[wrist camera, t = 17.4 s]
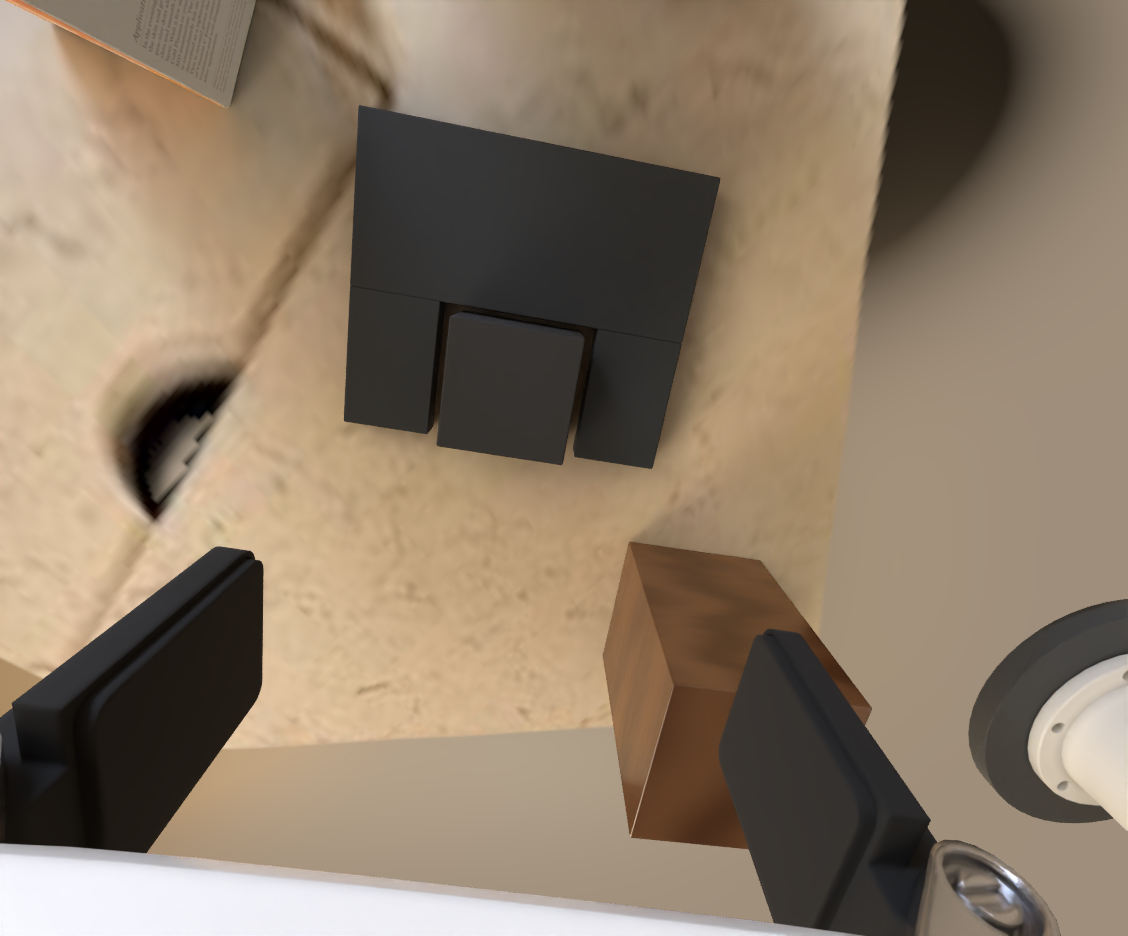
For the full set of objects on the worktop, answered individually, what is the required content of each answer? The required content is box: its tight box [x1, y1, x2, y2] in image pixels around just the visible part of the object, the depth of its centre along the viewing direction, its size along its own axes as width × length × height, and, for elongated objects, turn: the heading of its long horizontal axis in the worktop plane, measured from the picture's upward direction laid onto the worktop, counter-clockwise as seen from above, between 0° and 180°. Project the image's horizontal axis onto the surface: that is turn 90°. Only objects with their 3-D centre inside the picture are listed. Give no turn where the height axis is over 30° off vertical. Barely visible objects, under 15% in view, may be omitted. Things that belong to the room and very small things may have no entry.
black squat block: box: [437, 311, 585, 465], centre depth 27 cm, size 6×6×4 cm
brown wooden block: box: [603, 542, 872, 849], centre depth 28 cm, size 8×8×12 cm
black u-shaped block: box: [344, 105, 720, 469], centre depth 27 cm, size 16×14×2 cm
